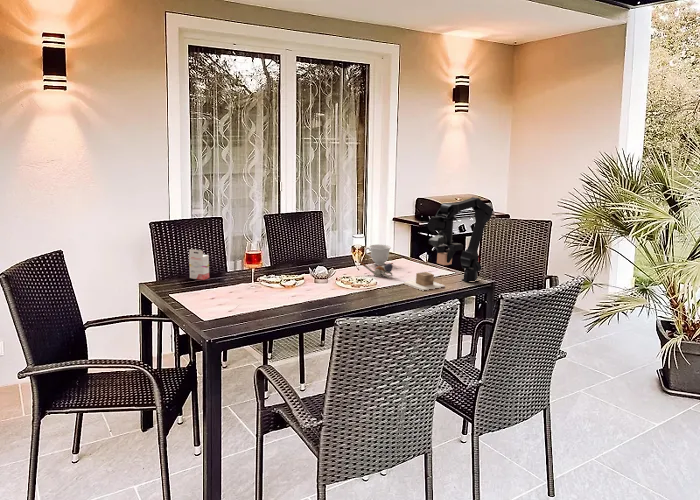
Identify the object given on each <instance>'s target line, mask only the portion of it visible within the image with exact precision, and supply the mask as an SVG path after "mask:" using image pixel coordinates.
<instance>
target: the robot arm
mask: <svg viewBox="0 0 700 500" xmlns="http://www.w3.org/2000/svg"><path fill="white" fill-rule="evenodd" d="M469 209H472V210H473V212H474V214H473V216H474V219H475V222H474V226H473V229H472V233H471V236H470V239H469V243H468V246H467V249H466V250H464V245H463V244H462V243H460V242H459V243H458V242H454V240H453V235H455V232H453V231H454V230H453V229H454V221H455V222H456V221H457V220H458V219H457V218H456V216H457V215H458V214H459V213H460V212H462V211H464V210H469ZM493 213H494V210H493V208H492V206H490V205H489V204H487V203H486V202H485V201H483V200H481V198H480V197H479V198H478V197H474V196H473V197H469V198H468V199H463V200H460V201H457V202H444V203H442V204H441V205H440V208H439V209H438V210H437V212H436V214H435V215H434V216H430V219H429V220H428V221H427V229H428V230H429V231H430V232H437V231H438V233H437V234H436V235H435V236H432V237H430V238H429V239H428V242H427V243H428V245H431V246H432V247H433V248H434V249H435V250H436V252H437V253H443V252H445V251H446V253H447V263H449V262H450V260H451V259H452V260H453V256H454V255H455V253H456V252H457V251H461V255H460V257H459V258H460V261H459V262H460V264H461V268H462V269H464V272H463V278H461V281H463V280H464V281H463V282H466V281H475V280H476V279H477V280H478V275H479V273H478V272H479V271H480V272H481V270H482V268H483V267H482V265H481V264H480V262H479V258H480V257H479V252H478V250H479V246H480V244H481V240H482V236H483V234H484V230H485V227H486V224H487V223H488V222H489V221H490V219H492V215H493ZM446 247H447V248H446ZM445 248H446V249H445Z"/></svg>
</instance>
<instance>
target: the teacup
mask: <svg viewBox="0 0 700 500" xmlns="http://www.w3.org/2000/svg"><path fill="white" fill-rule="evenodd" d="M391 248H392V247H391V246H390V245H387V244H370V245H369V247H368V246H367V247H365V248H364V253H365V255H367V256H370V258H371V259H372V262H374V265H376V266H385V265H386V264H385V263H387V261H388V260H389V254H390V249H391ZM367 250H368V251H369V252H370V253H368V252H367Z"/></svg>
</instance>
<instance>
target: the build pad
mask: <svg viewBox="0 0 700 500" xmlns="http://www.w3.org/2000/svg"><path fill="white" fill-rule="evenodd" d="M404 285H405V286H409V287H410V288H414V289H416V290H418V289H419V291H421V290H422V291H421V292H425V291H424V290H427V291H430V290H429V289H433V290H436V289H435V288H439V289H442V288H441V287H445V288H446V285H445V284H442V283H439V282H436V281H434V282H433V285H427V286H422V285H420V284H417V283H416V280H410V281H405V282H404Z"/></svg>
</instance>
